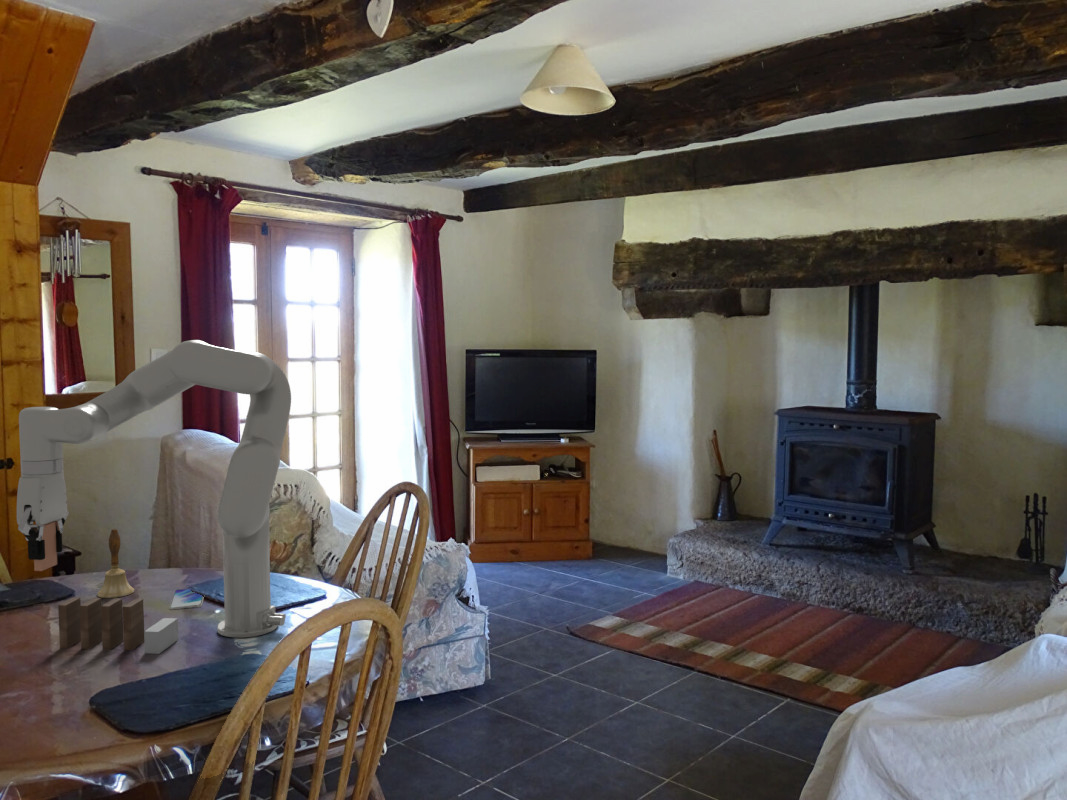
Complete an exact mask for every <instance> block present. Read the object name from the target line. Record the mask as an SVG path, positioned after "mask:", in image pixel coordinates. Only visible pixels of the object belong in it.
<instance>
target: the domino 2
mask: <svg viewBox="0 0 1067 800" xmlns="http://www.w3.org/2000/svg"><path fill="white" fill-rule="evenodd" d="M80 605H82V603H81V597H71V598H70V599H67V600H65V601H64V602H62V603H60V604H58V606H57V608H58V609H57V610H58V634H59V635H58V636H59V649H66V650H67V649H70V648H71V647H72V646H74V645H76V644H78V643H80V642H81V627H80Z"/></svg>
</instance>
